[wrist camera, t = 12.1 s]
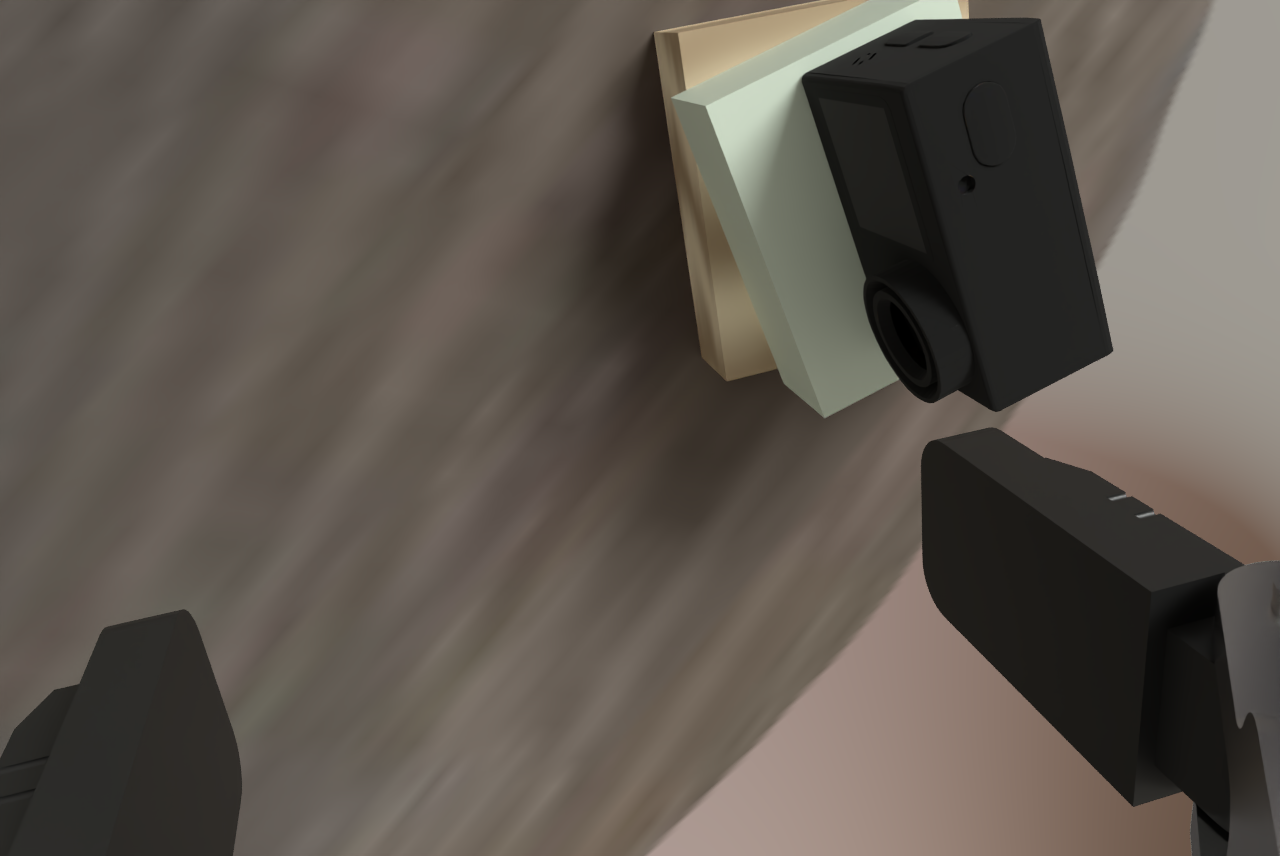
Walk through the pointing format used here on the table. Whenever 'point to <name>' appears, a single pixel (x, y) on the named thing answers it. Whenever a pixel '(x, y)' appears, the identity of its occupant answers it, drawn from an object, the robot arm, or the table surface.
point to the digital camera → (963, 207)
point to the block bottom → (714, 275)
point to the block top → (795, 204)
